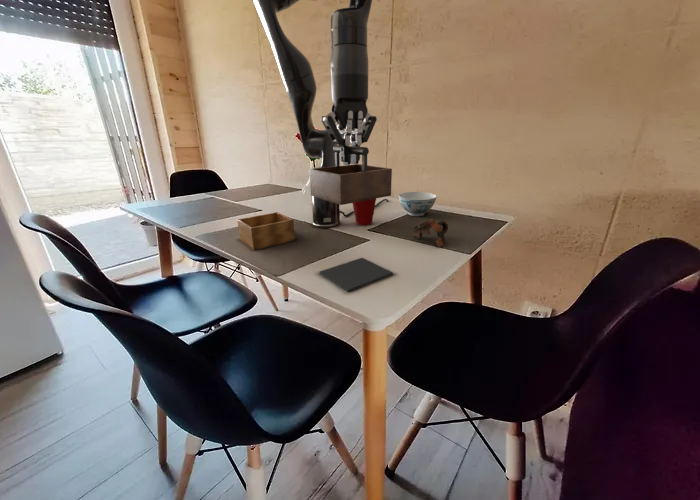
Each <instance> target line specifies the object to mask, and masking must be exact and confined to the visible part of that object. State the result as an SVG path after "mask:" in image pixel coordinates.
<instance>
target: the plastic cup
mask: <svg viewBox="0 0 700 500" xmlns="http://www.w3.org/2000/svg"><path fill="white" fill-rule="evenodd" d="M376 202H377V198H376V199H371V200H365V201H360V202H355V203H352V208H353V211H354V213H353V215H354V217H355V218H354V219H355V222H356V225H358V226H369V225H372V223H373V219H374V213H375V208H376V207H375V205H376Z"/></svg>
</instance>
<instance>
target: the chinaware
mask: <svg viewBox="0 0 700 500" xmlns="http://www.w3.org/2000/svg"><path fill="white" fill-rule="evenodd" d="M398 200H399V203H400V205H401V207H402V209H404V210H405V211H406V212H407V214H408V215H409V216H411V217H422V216H425V213H427V212H429V210H431V209H432V208H433V206H434V205H435V203H436V200H437V195H436V194H434V193H431V192H426V191H406V192H400V193H399V194H398Z"/></svg>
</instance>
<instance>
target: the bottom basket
mask: <svg viewBox="0 0 700 500" xmlns="http://www.w3.org/2000/svg"><path fill="white" fill-rule="evenodd" d="M236 221H237V226H238V227H237V228H238V233H239V239H240V241H241V242H242V243H244V244H245V245H246V246H247V247H249V248H250V249H251V250H253V251H257V250H261V249H265V248H269V247H274V246H277V245H281V244H285V243H290V242H293V241H296V231H295V222H294V219H293V218H292V217H289V216H287V215H285V214H282V213H280V212H278V211H275V212H270V213H265V214H260V215H253V216H249V217H242V218H238V219H236Z"/></svg>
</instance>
